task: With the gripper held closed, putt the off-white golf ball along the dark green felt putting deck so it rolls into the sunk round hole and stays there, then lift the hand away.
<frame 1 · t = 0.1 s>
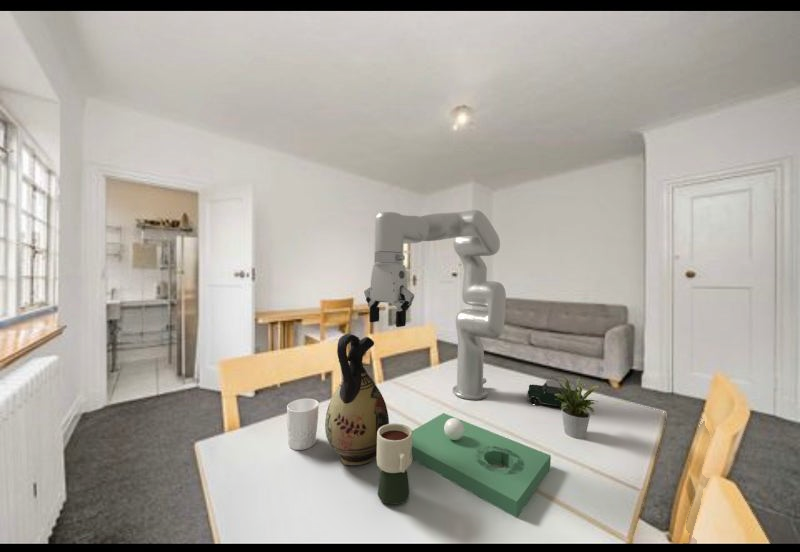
hand: (387, 324, 81), 31 cm above the table, tool pointing down, fingers open, 9 cm apart
putting deck: (471, 459, 73), on the table
golf ball: (454, 428, 77), point 5 cm above the table, touching putting deck
white cup: (302, 443, 79), on the table
miniature car: (554, 405, 106), on the table
ceramic jug: (354, 456, 74), on the table
house plant: (569, 433, 87), on the table
character mug: (393, 497, 61), on the table
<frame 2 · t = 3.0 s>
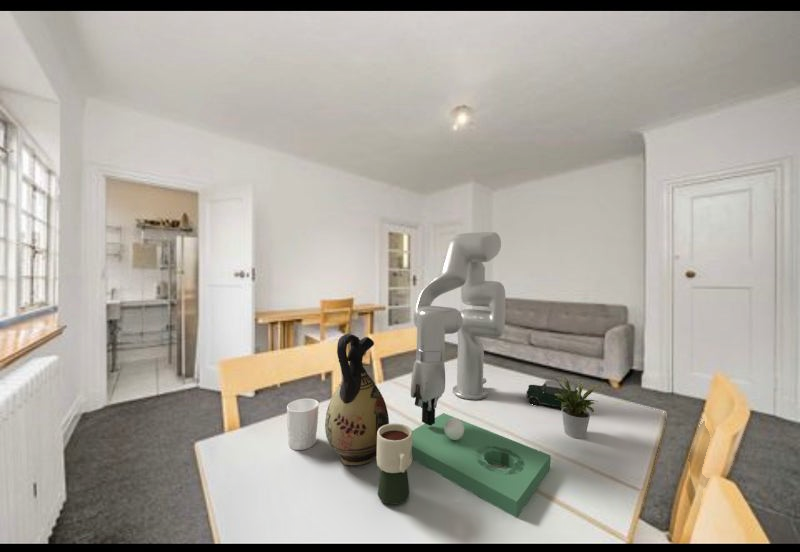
hand: (428, 422, 82), 4 cm above the table, tool pointing down, fingers closed
nothing on the table moved.
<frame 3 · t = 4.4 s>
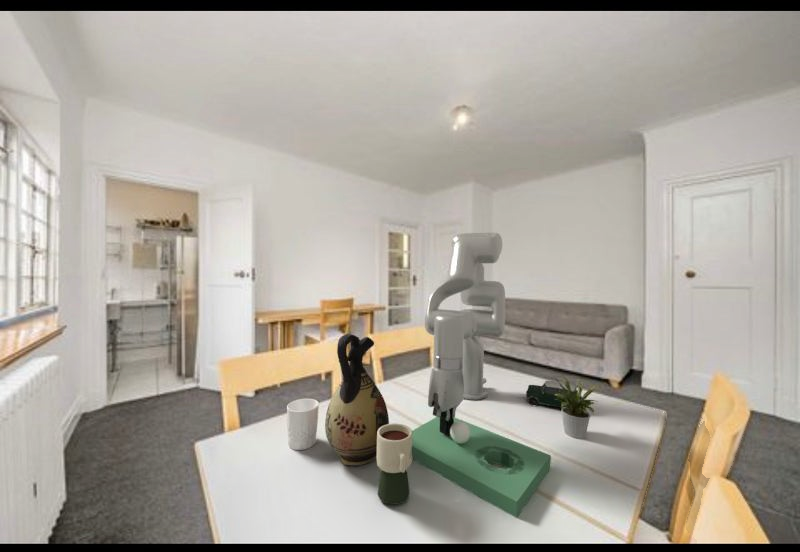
hand: (446, 432, 78), 4 cm above the table, tool pointing down, fingers closed
golf ball: (460, 432, 75), point 5 cm above the table, tilted 41°, touching putting deck
everything else where it was.
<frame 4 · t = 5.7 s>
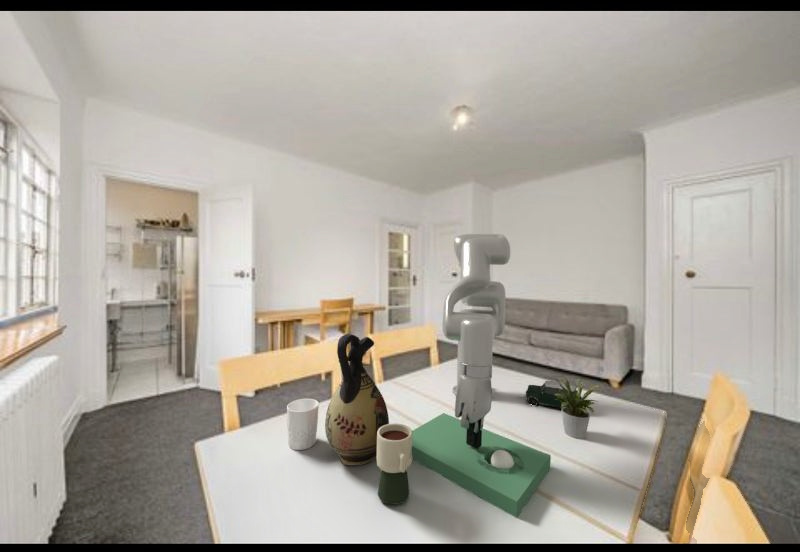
hand: (473, 445, 73), 4 cm above the table, tool pointing down, fingers closed
golf ball: (502, 462, 68), point 2 cm above the table, tilted 41°
everything else where it was.
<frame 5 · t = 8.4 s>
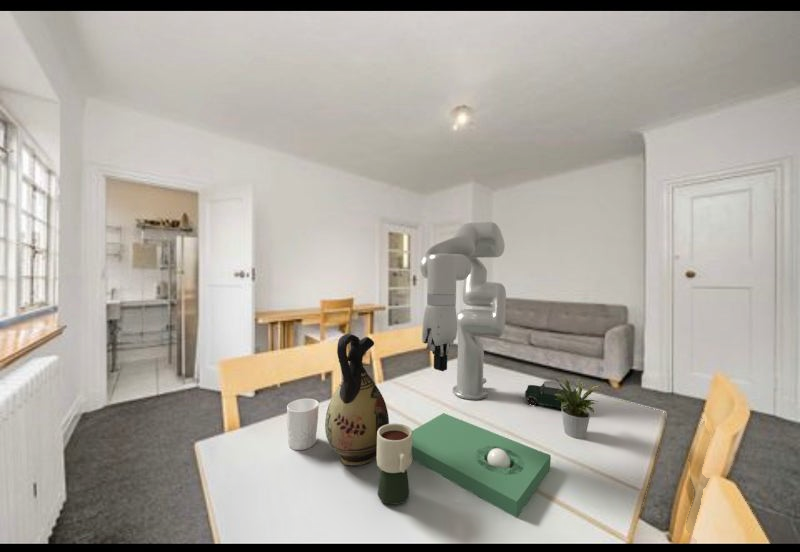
hand: (440, 369, 80), 19 cm above the table, tool pointing down, fingers closed
golf ball: (498, 460, 69), point 2 cm above the table, tilted 62°
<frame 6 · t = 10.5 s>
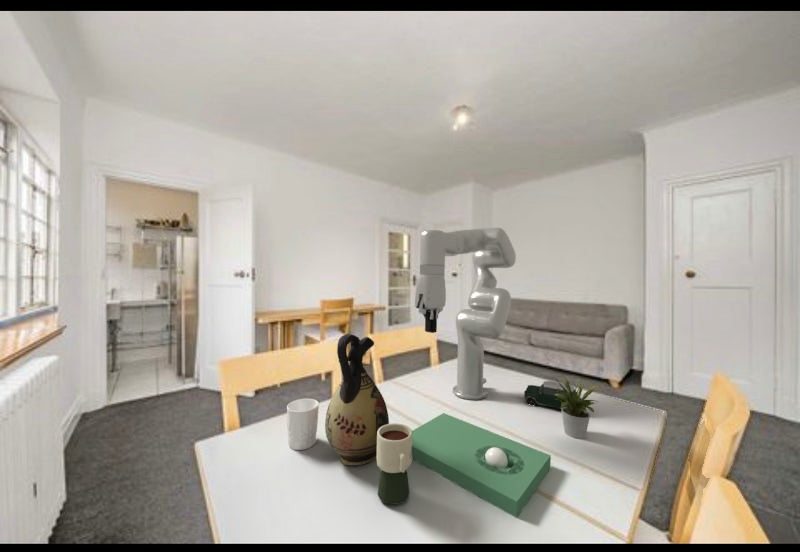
hand: (430, 331, 92), 27 cm above the table, tool pointing down, fingers closed
golf ball: (496, 459, 69), point 2 cm above the table, tilted 75°
at the end: golf ball 0.7 cm from the target spot on the putting deck, point 2.5 cm above the putting deck's base; golf ball moved 11.7 cm from its start; the gripper is holding nothing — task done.
